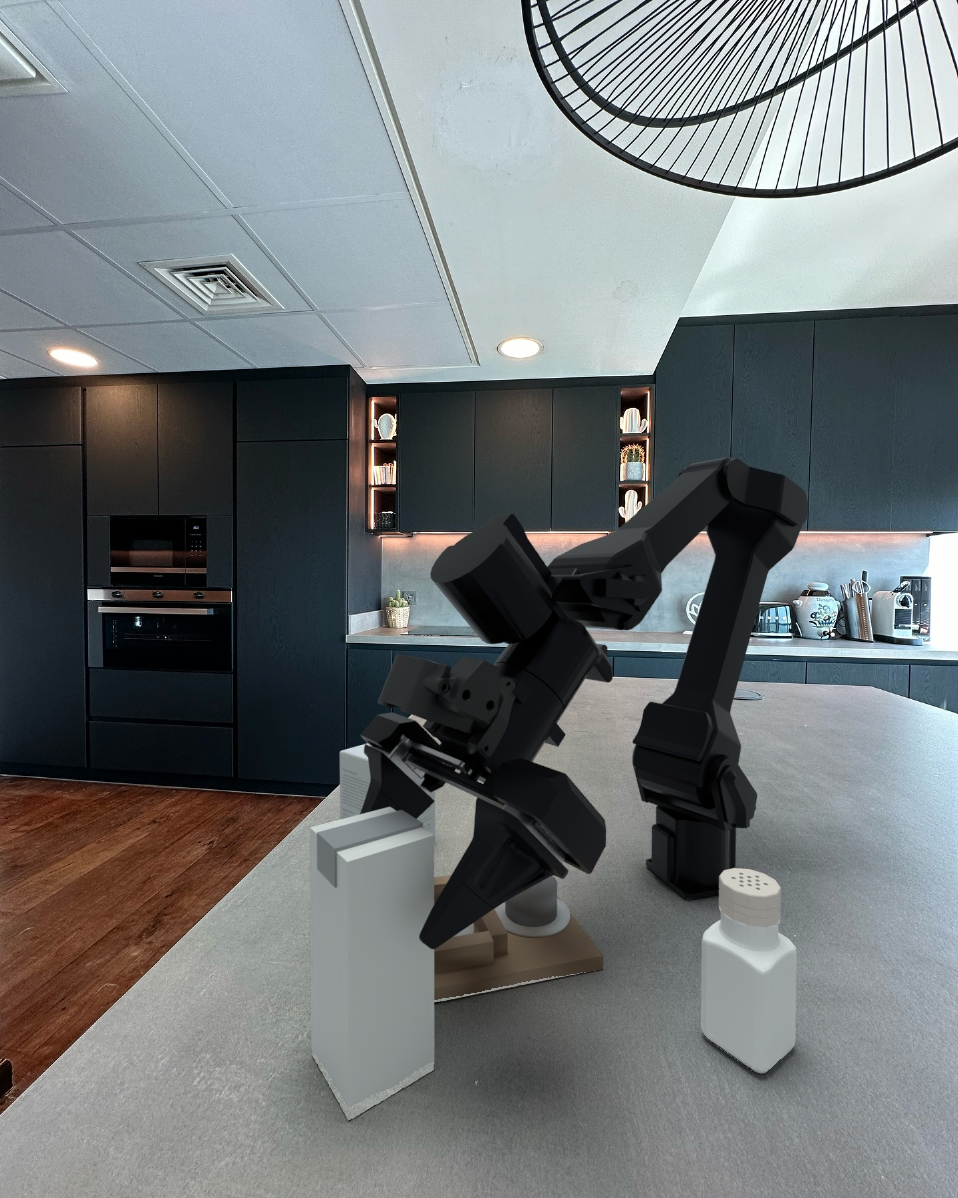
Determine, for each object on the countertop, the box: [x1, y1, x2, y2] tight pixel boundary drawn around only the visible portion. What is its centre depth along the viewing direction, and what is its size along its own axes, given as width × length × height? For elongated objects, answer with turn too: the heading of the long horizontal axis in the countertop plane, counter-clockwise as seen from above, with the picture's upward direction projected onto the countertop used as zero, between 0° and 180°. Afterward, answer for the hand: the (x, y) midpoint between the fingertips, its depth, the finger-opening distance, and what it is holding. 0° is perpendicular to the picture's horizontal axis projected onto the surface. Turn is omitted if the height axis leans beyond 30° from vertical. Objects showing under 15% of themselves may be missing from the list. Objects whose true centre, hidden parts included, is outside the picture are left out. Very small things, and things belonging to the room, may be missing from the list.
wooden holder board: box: [434, 874, 604, 1000], centre depth 43 cm, size 16×12×4 cm
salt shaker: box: [700, 867, 798, 1072], centre depth 33 cm, size 4×4×10 cm
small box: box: [339, 742, 436, 844], centre depth 57 cm, size 8×6×10 cm
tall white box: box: [309, 807, 435, 1107], centre depth 32 cm, size 5×5×13 cm
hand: (381, 904), depth 33 cm, fingers open, 9 cm apart
